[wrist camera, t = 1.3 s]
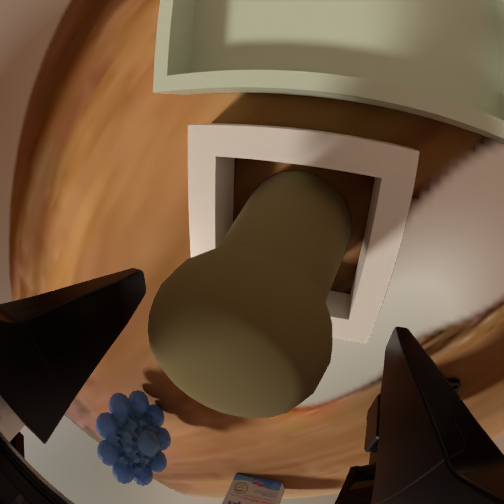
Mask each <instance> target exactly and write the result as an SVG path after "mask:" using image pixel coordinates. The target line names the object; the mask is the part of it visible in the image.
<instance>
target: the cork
mask: <svg viewBox="0 0 504 504" xmlns="http://www.w3.org/2000/svg"><path fill="white" fill-rule="evenodd" d="M350 235H351V214H350V211H349V209H348V206H347V204H346V201H345V199H344V197H343V196H342V195H341V194H340V193H339V191H338V190H337V189H336V188H335V187H334V186H333V184H331V183H329V182H328V181H326V180H325V179H323V178H321V177H320V176H318V175H315V174H311V173H307V172H303V171H289V172H281V173H279V174H276V175H274V176H272V177H269V178H267V179H266V180H265V181H263V182H262V183H261V184H260V185H259V186H258V187H257V188H256V189H255V190H254V191H253V193H252V195H251V196H250V198H249V199H248V201H247V202H246V204H245V205H244V207H243V209H242V210H241V212H240V213H239V215H238V216H237V218H236V220H235V221H234V223H233V224H232V226H231V228H230V229H229V231H228V232H227V234H226V236H225V237H224V239H223V240H222V242H221V244H220V245H219V247H218V248H215V249H212V250H210V251H207V252H205V253H202V254H200V255H197V256H194V257H192V258H189V259H187V260H186V261H185V262H184V263H183V264H182V265H180V266H179V267H178V268H177V269H176V270H175V271H174V272H173V273H172V274H171V275H170V276H169V277H168V278H167V279H166V280H165V281H164V282H163V283H162V284H161V286H160V288H159V290H158V292H157V294H156V296H155V298H154V300H153V304H152V307H151V310H150V314H149V322H148V335H149V342H150V348H151V350H152V352H153V354H154V356H155V358H156V360H157V362H158V364H159V366H160V367H161V368H162V370H163V371H164V372H165V373H166V375H167V376H168V377H169V378H170V380H171V381H172V382H173V383H174V384H175V385H176V386H177V387H178V388H179V389H181V390H182V391H183V392H184V393H185V394H187V395H188V396H189V397H191V398H192V399H194V400H196V401H197V402H199V403H201V404H203V405H204V406H206V407H209V408H211V409H214V410H216V411H219V412H221V413H224V414H229V415H233V416H239V417H246V418H267V417H273V416H277V415H280V414H284V413H287V412H289V411H290V410H292V409H293V408H294V407H296V406H297V405H299V404H300V403H301V402H303V401H304V400H305V399H306V398H308V397H309V396H310V395H311V394H313V393H314V391H315V389H316V387H317V386H318V384H319V382H320V380H321V379H322V377H323V375H324V373H325V371H326V369H327V367H328V365H329V363H330V360H331V352H332V321H331V317H330V313H329V310H328V308H327V305H326V303H325V302H326V299H327V297H328V294H329V292H330V289H331V287H332V284H333V282H334V279H335V277H336V274H337V272H338V269H339V266H340V264H341V261H342V258H343V256H344V253H345V250H346V248H347V245H348V241H349V238H350Z"/></svg>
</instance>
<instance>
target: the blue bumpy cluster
mask: <svg viewBox="0 0 504 504" xmlns="http://www.w3.org/2000/svg"><path fill="white" fill-rule="evenodd" d="M109 409H110V412H111V414H110V413H108V412H106V413H101V414H100V415H99V416H98V418H97V420H96V428H97V431H98V433H99V434H100V436H101V437H102V438H104V439H106V440H103V441H101V442H100V443H99V446H98V450H97V453H98V457H99V458H100V459H101V461H102V462H103V463H104V464H106V465H108V466H111V465H113V468H112V472H113V475H114V477H115V478H116V479H117V480H118V481H119V482H121V483H123V484H126V483H129V482H131V481H132V480H133V479H134V480H135V481H136V483H137V484H139V485H142V486H144V485H148V484H149V483H150V482H151V481H152V478H153V473H152V471H154V472H161V471H162V470H163V469H164V468H165V467H166V464H167V460H166V457H165V455H164V454H163V453H162V450H165V449H167V448H168V447H169V446H170V443H171V438H170V435H169V432H168V431H167V430H166V429H165V428H162V427H160V426H161V425H162V424H163V422H164V414H163V411H162V409H161V408H160V407H159V406H157V405H155V404H153V405H149V401H148V398H147V396H146V395H145V393H143V392H141V391H138V390H137V391H133V392H132V393H131V394H130V396H129V399H128V398H127V396H126V395H124V394H122V393H116V394H114V395H113V396H112V397H111V398H110V401H109Z"/></svg>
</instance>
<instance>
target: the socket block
mask: <svg viewBox="0 0 504 504" xmlns="http://www.w3.org/2000/svg"><path fill="white" fill-rule="evenodd" d="M419 153H420V152H419V151H417V150H415V149H412V148H410V147H407V146H403V145H398V144H394V143H389V142H384V141H379V140H374V139H369V138H364V137H358V136H352V135H346V134H340V133H333V132H326V131H318V130H310V129H301V128H292V127H281V126H268V125H252V124H228V123H206V124H193V125H188V202H189V229H190V250H191V258H192V257H194V256H197V255H200V254H202V253H205V252H207V251H210V250H212V249H215V248H218V247H219V245H220V244H221V242H222V240H223V239H224V237H225V236H226V234H227V232H228V231H229V229H230V228H231V226H232V224H233V199H234V165H235V158H244V159H255V160H265V161H274V162H283V163H291V164H299V165H306V166H313V167H320V168H327V169H333V170H339V171H345V172H351V173H357V174H362V175H367V176H373V177H375V179H374V185H373V192H372V197H371V203H370V209H369V214H368V219H367V224H366V229H365V234H364V239H363V243H362V248H361V252H360V256H359V261H358V265H357V269H356V273H355V277H354V281H353V285H352V289H351V292H350V294H346V293H341V292H336V291H331V290H330V292H329V294H328V297H327V299H326V302H325V303H326V305H327V308H328V310H329V313H330V317H331V321H332V338H334V339H340V340H345V341H350V342H356V343H362V344H368V341H369V339H370V336H371V333H372V331H373V328H374V326H375V323H376V320H377V318H378V315H379V312H380V309H381V306H382V303H383V301H384V298H385V295H386V292H387V289H388V286H389V283H390V279H391V276H392V273H393V270H394V266H395V263H396V259H397V256H398V253H399V249H400V245H401V241H402V237H403V234H404V230H405V226H406V221H407V217H408V213H409V208H410V203H411V199H412V194H413V189H414V183H415V178H416V172H417V166H418V159H419Z"/></svg>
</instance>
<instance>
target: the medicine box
mask: <svg viewBox="0 0 504 504" xmlns="http://www.w3.org/2000/svg"><path fill="white" fill-rule="evenodd" d="M284 491H285V489H284V485H283V483H282V482H281V481H275V480H269V479H264V478H258V477H253V476H248V475H244V474H240V473H236V474H235V477H234V479H233V481H232V483H231V485H230V488H229V490H228V492H227V494H226V496H225V498H224V500H223V503H222V504H280V502H281V499H282V496H283V494H284Z"/></svg>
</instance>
